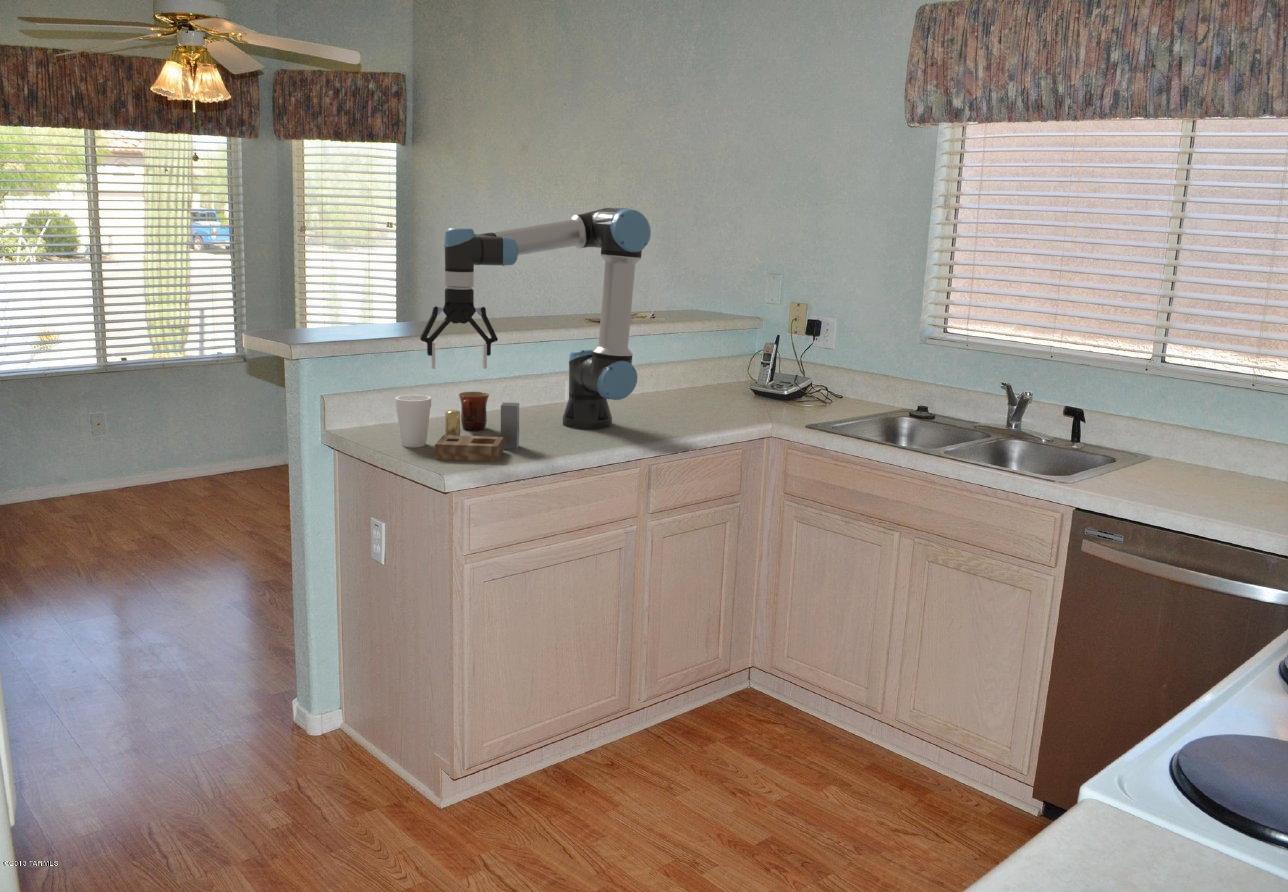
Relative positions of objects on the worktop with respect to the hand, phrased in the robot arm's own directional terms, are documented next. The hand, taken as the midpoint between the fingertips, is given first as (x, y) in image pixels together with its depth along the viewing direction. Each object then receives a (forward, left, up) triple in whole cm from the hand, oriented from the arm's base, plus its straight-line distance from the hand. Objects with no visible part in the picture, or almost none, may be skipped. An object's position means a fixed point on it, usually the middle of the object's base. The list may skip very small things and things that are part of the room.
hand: (459, 368), depth 277 cm
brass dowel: (+2, -3, -22) cm, 22 cm away
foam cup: (+12, 0, -22) cm, 25 cm away
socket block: (-5, +10, -22) cm, 24 cm away
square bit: (-14, -1, -22) cm, 25 cm away
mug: (0, -22, -22) cm, 31 cm away
